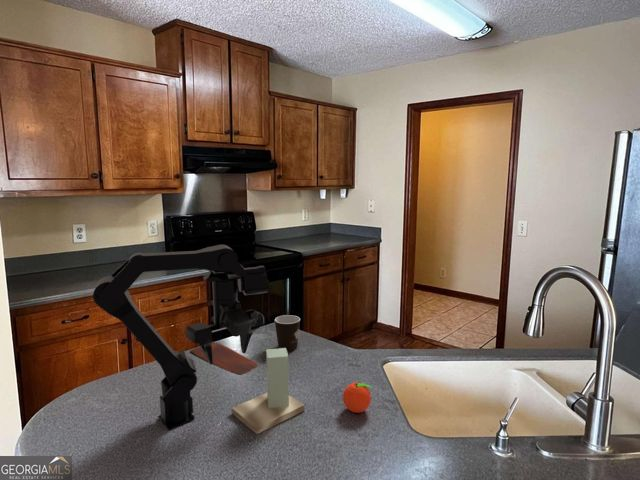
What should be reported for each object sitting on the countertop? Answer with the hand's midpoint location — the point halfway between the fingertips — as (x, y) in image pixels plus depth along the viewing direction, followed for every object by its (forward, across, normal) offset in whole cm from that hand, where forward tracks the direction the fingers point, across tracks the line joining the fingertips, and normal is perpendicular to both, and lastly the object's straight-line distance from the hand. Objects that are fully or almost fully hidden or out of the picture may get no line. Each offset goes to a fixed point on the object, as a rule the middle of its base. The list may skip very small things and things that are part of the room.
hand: (227, 358), depth 100 cm
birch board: (+13, +6, -8) cm, 17 cm away
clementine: (+13, +23, -23) cm, 35 cm away
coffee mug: (+13, +35, +19) cm, 42 cm away
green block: (+12, +9, -8) cm, 17 cm away
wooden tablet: (+14, +13, +26) cm, 32 cm away
